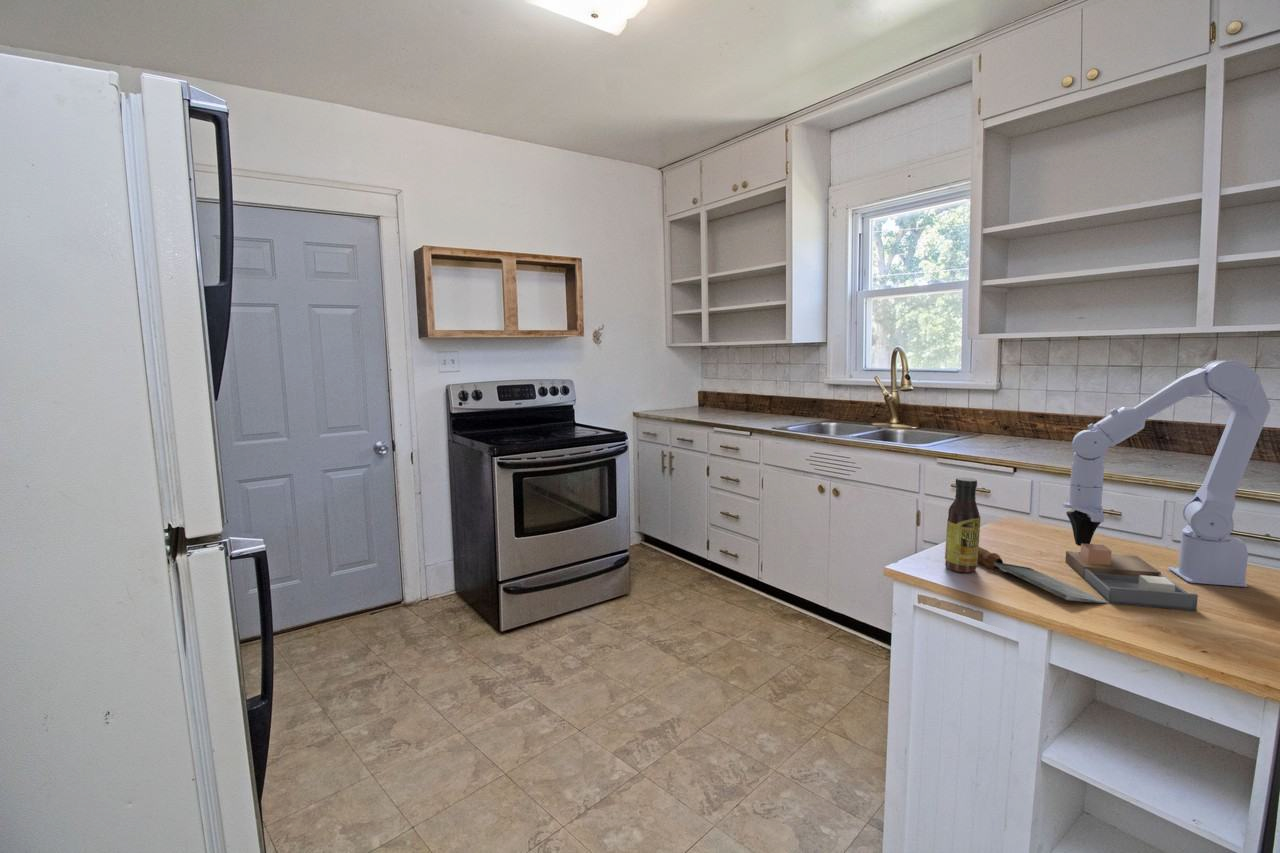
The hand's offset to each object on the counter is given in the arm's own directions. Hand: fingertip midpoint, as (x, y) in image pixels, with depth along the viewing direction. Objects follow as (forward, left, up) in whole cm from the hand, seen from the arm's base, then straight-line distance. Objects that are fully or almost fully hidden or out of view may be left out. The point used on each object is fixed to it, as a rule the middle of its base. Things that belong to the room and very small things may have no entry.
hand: (1082, 545), depth 133 cm
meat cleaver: (+15, +11, -4) cm, 19 cm away
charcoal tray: (-3, +18, -4) cm, 19 cm away
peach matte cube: (0, +7, -1) cm, 7 cm away
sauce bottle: (+26, +12, -4) cm, 29 cm away
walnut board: (-3, +7, -4) cm, 8 cm away
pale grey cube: (-6, +19, 0) cm, 20 cm away
